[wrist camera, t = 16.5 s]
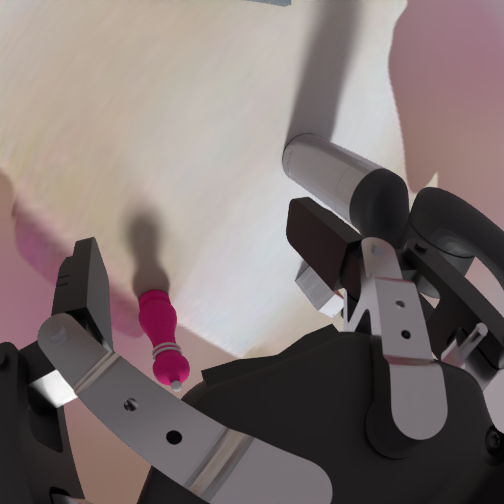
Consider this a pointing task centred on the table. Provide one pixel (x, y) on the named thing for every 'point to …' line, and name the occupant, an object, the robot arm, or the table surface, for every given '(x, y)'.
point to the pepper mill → (163, 338)
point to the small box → (320, 293)
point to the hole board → (275, 2)
